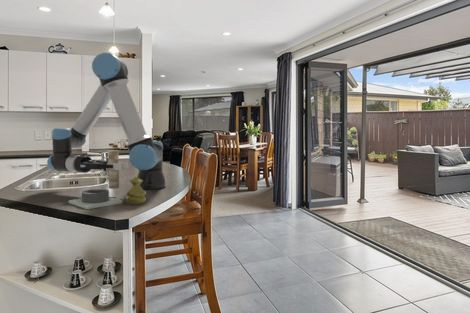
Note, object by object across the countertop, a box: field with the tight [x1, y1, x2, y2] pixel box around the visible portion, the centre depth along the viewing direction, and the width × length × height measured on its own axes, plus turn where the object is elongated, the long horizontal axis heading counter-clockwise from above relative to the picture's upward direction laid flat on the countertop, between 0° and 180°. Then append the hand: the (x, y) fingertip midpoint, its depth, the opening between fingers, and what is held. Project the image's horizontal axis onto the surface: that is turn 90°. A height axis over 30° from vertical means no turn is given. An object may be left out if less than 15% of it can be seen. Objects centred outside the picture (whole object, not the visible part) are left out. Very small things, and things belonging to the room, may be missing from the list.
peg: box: [107, 149, 120, 190], centre depth 136 cm, size 4×4×16 cm
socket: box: [68, 189, 123, 210], centre depth 123 cm, size 14×14×4 cm
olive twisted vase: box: [125, 176, 147, 205], centre depth 126 cm, size 7×7×10 cm
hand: (124, 166), depth 134 cm, fingers closed on peg, 4 cm apart
